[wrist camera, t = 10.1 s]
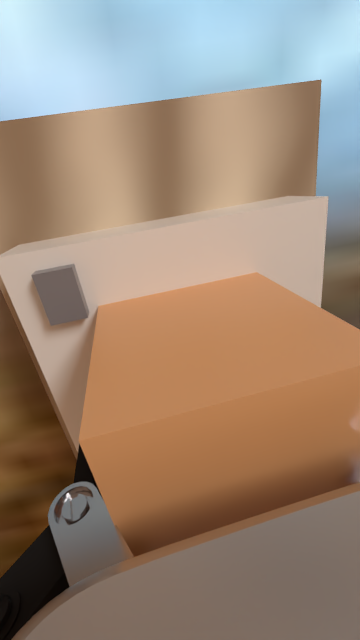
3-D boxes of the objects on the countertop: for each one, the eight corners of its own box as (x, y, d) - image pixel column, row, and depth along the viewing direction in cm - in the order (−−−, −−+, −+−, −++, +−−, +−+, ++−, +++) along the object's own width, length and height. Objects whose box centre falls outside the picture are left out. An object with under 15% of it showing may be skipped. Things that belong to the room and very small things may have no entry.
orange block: (239, 261, 14) (402, 354, 6) (246, 389, 18) (358, 556, 10) (100, 290, 13) (78, 441, 5) (137, 418, 17) (157, 628, 9)
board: (295, 93, 14) (321, 79, 13) (289, 419, 24) (303, 437, 22) (-44, 139, 12) (-71, 130, 11) (95, 474, 22) (93, 499, 20)
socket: (288, 195, 14) (338, 196, 11) (285, 397, 20) (318, 437, 17) (18, 244, 13) (-14, 262, 10) (98, 448, 18) (94, 503, 15)
